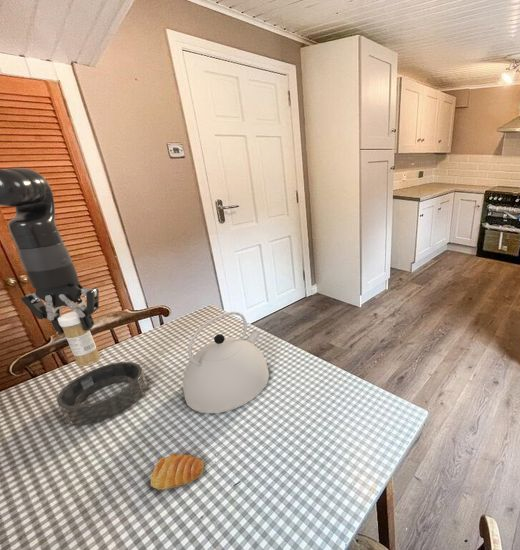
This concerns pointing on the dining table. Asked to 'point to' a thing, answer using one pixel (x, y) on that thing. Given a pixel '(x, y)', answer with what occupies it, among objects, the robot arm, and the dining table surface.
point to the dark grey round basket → (95, 381)
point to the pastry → (176, 471)
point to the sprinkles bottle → (79, 339)
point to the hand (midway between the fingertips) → (76, 329)
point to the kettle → (224, 372)
